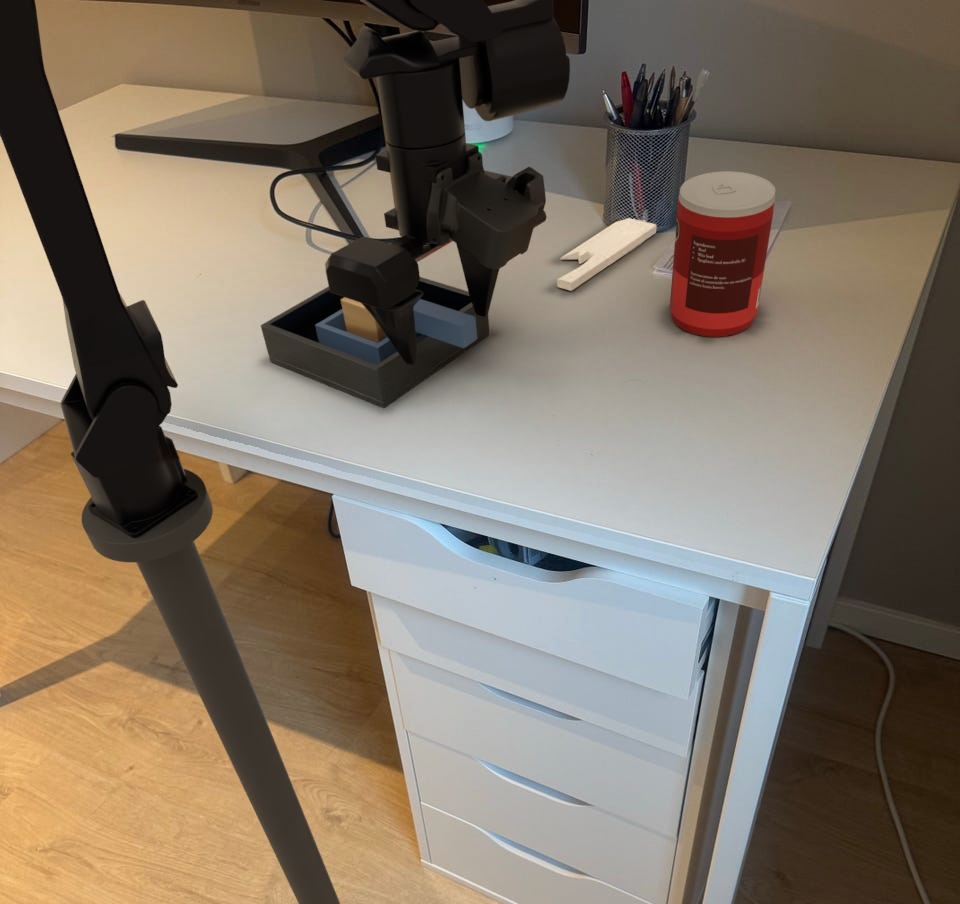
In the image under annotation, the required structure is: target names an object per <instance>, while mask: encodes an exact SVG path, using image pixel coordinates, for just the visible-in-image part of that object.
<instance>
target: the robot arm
mask: <svg viewBox="0 0 960 904" xmlns="http://www.w3.org/2000/svg"><path fill="white" fill-rule="evenodd" d="M359 1H360V2H361V3H363V4H364V5H366V6H367V7H369V8H370V9H372V10H374V11H376V12H378V13H380V14H382V15H384V16H385V17H387V18H389V19H391V20H393V21H395V22H397V23H398V24H400V25H402V26H404V27H406V28H408V29H410V30H413V31H409V32H404V33H403V32H402V33H398V34H393V35H389V36H385V37H382V36H380V34H379V33H378V32H377V31H375V30H374V29H372V28H370V27H368V26H367V25H364V26H361V28H360V30H359V34H358V37H357V39H356V40H355V42H354V43H353V45H352V46H350V48H349V50H348V51H347V52H346V54H345V55H344V56H343V58H342V64H343V66H344V68H346V69H347V70H349V71H350V72H352V73H353V74H354V75H356V76H357V77H359V78H360V79H362V80H369V79H374V78H376V83H377V91H378V98H379V99H378V100H379V105H380V112H381V113H380V114H381V119H382V127H383V135H384V142H385V149H384V150H383V151H380V152H378V153H377V154H374V157H375V164H376V169H377V170H378V171H381V172H385V173H389V177H390V184H391V192H392V200H393V208H391V209H389V210H388V211H386V212H384V213H383V217H384V224H385V228H389V229H392V230H396V231H398V234H399V236H400V237H399V238H397V239H395V240H394V241H392V242H391V243H389V242H385V241H381V240H379V239H375V238H371V237H367V236H364V235H363V236H361V237H359V238H357V239H355V240H354V241H352V242H350V243H348V244H347V245H346V244H345V245H344V246H343V247H341V248H339V249H338V250H335V251H333V252H332V253H330V255H329V256H328V258H327V260H326V261H325V262H324V265H325V266H324V267H325V274H326V279H327V284H328V286H329V290H330V293H333V294H336V295H339V296H342V297H345V298H348V299H351V300H354V301H357V302H360V303H362V304H363V306H364V307H365V308H366V309H367V310H368V311H369V313H370V314H371V315H372V316H373V317H374V319H375V320H376V321H377V323H378V324H379V325H380V327H381V328H382V330H383V331H384V333H385V334H386V335H387V337H388V338H389V340H390V341H391V343H392V344H393V346H394V347H395V349H396V350H397V351H398V353H399V354H400V356H401V357H402V359H403V360H404V361H405V362H406V363H408V364H411V365H414V364H416V363H417V341H416V330H415V320H414V306H415V304H416V303H417V302H418V301H419V299H420V298H421V297H422V296H423V293H424V292H422V291H419V290H416V287H417V285H418V282H419V280H420V277H421V275H420V268H419V262H421V261H422V260H423V259H425V258H427V257H429V256H431V255H432V254H434V253H436V252H437V251H440V250H441V249H442V248H444V247H445V246H447V245H449V244H451V243H453V242H454V243H455V244H456V248H457V251H458V256H459V259H460V265H461V268H462V272H463V276H464V279H465V284H466V287H467V291H468V292H469V296H470V299H471V302H472V305H473V308H474V311H475V313H476V314H477V315H479V316H482V317H485V316H487V315H488V316H489V312H490V307H491V303H492V301H493V297H494V293H495V288H496V284H497V282H498V281H497V280H498V277H499V272H500V269H501V268H503V267H505V266H506V265H507V263H509V262H510V261H511V260H513V259H515V258H516V257H517V256H520V255H524V254H525V253H526V252H527V251H528V250H529V247H530V243H531V239H532V236H533V232H534V229H535V228H537V227H538V226H540V225H542V224H543V223H545V222H546V220H547V213H546V211H545V206H546V202H547V196H546V190H545V189H546V188H545V180H544V175H543V174H542V173H540V172H539V171H538V170H536V169H534V168H532V167H531V166H527V167H526V168H524V169H522V170H520V171H518V172H517V173H515V174H514V175H506V174H502V173H498V172H494V171H489V170H485V168H484V162H483V161H484V159H483V154H482V153H481V152H480V148H479V145H478V144H472V143H468V142H467V138H466V126H465V113H464V105H465V106H466V107H467V108H468V109H471V110H472V109H474V110H475V111H476V113H477V115H478V116H479V117H480V118H481V120H483V121H484V122H492V121H496V120H500V119H504V118H509V117H512V116H516V115H520V114H525V113H528V112H532V111H536V110H541V109H545V108H549V107H552V106H553V107H554V106H557V105H559V104H560V103H562V102H563V100H564V99H565V97H566V95H567V92H568V88H569V84H570V75H571V74H570V73H571V61H570V57H569V55H568V54H567V49H566V45H565V41H564V37H563V34H562V31H561V28H560V26H559V24H558V23H557V21H556V19H555V18H554V0H512V1H508V2H507V1H506V2H503V3H497V4H492V5H487V4H486V2H485V1H484V0H359ZM437 27H440V28H442V29H444V30H445V31H448V32H450V33H452V34H454V35H455V36H453V37H448V38H444V39H439V40H438V39H437V40H432V41H431V40H430V39H429V37H428V36H427V35H426V34H425V33H424V32H428V31H429V32H430V31H433V30H435V29H436V28H437ZM0 138H1V141H2V144H3V146H4V149H5V151H6V154H7V157H8V159H9V162H10V165H11V167H12V170H13V172H14V175H15V178H16V181H17V183H18V186H19V189H20V191H21V194H22V196H23V199H24V201H25V204H26V206H27V209H28V212H29V214H30V217H31V219H32V223H33V225H34V227H35V230H36V232H37V235H38V238H39V241H40V243H41V246H42V248H43V251H44V253H45V256H46V258H47V259H46V260H47V261H48V264H49V267H50V269H51V272H52V274H53V277H54V280H55V282H56V284H57V287H58V290H59V293H60V295H61V299H62V305H63V311H64V319H65V325H66V331H67V337H68V342H69V349H70V352H71V358H72V363H73V368H74V371H75V374H74V376H73V378H72V380H71V382H70V384H69V385H68V388H67V389H66V392H65V393H64V395H63V397H62V399H61V401H60V408H61V411H62V415H63V419H64V422H65V426H66V429H67V433H68V436H69V439H70V443H71V444H70V445H71V447H72V451H71V453H70V456H71V458H72V460H73V462H74V465H75V467H76V468H77V470H78V472H79V474H80V476H81V479H82V481H83V483H84V484H85V486H86V488H87V491H88V492H89V495H90V498H91V497H92V499H93V501H94V502H92V503H90V504H89V505H88V509H89V511H90V512H91V513H92V514H94V515H96V516H97V517H99V518H100V519H102V520H104V521H105V522H107V523H109V524H110V525H112V526H114V527H115V528H117V529H118V530H120V531H122V532H123V533H125V534H127V535H128V536H130V537H132V538H138V537H140V536H142V535H143V534H145V533H146V532H148V531H149V530H151V529H152V528H154V527H155V526H157V525H158V524H160V523H161V522H163V521H164V520H166V519H167V518H169V517H170V516H172V515H173V514H175V513H176V512H178V511H179V510H181V509H182V508H184V507H185V506H187V505H188V504H190V503H191V502H193V501H194V500H195V499H197V498H198V494H197V491H196V490H194V489H193V488H191V487H189V486H187V485H185V484H183V483H185V482H186V481H187V477H186V474H185V472H184V469H185V468H184V467H183V464H182V462H181V458H180V456H179V454H178V451H177V449H176V445H175V444H174V441H173V439H172V438H170V437H168V436H166V435H165V433H164V430H163V428H162V426H161V424H163V422H164V421H165V419H166V418H167V416H168V415H169V414H170V413H171V411H172V405H173V404H172V403H173V402H172V396H171V392H170V389H169V387H170V388H173V389H177V388H178V387H179V384H178V382H177V379H176V377H175V375H174V374H173V371H172V369H171V367H170V365H169V363H168V361H167V358H166V356H165V350H164V343H163V342H164V341H163V338H162V333H161V331H160V329H159V327H158V325H157V323H156V320H155V318H154V317H153V314H152V312H151V310H150V308H149V306H148V304H147V302H146V300H144V299H141V300H139V301H136V302H134V303H132V304H130V305H127V303H126V302H125V300H124V298H123V296H122V295H121V293H120V291H119V289H118V285H117V282H116V279H115V276H114V274H113V271H112V267H111V265H110V262H109V258H108V256H107V252H106V250H105V247H104V245H103V240H102V238H101V235H100V232H99V229H98V226H97V223H96V220H95V217H94V214H93V211H92V208H91V205H90V201H89V199H88V196H87V192H86V190H85V187H84V185H83V184H84V183H83V181H82V178H81V175H80V173H79V172H80V171H79V169H78V167H77V163H76V160H75V157H74V155H73V152H72V148H71V145H70V142H69V140H68V136H67V133H66V130H65V127H64V125H63V121H62V118H61V114H60V112H59V109H58V107H57V104H56V100H55V98H54V95H53V92H52V89H51V86H50V83H49V80H48V77H47V74H46V70H45V65H44V58H43V51H42V43H41V35H40V29H39V20H38V12H37V5H36V0H0Z"/></svg>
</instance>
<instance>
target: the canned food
mask: <svg viewBox="0 0 960 904" xmlns="http://www.w3.org/2000/svg"><path fill="white" fill-rule="evenodd" d="M677 201H678V202H677V210H676V219H675V220H676V221H675V235H674V246H673V248H674V249H673V261H672V262H673V263H672V272H671V274H672V275H671V286H670V289H671V290H670V300H669V302H670V303H669V309H670V314H671V318H672V320H673V322H674V323H675V324H676V326H677V327H679V328H680V329H682V330H683V331H685V332H687V333H689V334H693V335H696V336H701V337H710V338H721V337H728V336H733V335H736V334H739V333H742V332H743V331H745V330H746V329H748V328H749V327H751V325H752V324H753V322H754V320H755V319H756V316H757V314H758V310H759V305H760V304H759V303H760V298H761V291H762V287H763V286H762V285H763V279H764V273H765V267H766V262H767V254H768V249H769V243H770V236H771V229H772V223H773V217H774V211H775V209H774V208H775V202H776V187H775V185H774V184H773V183H772V182H770V181H769V180H768V179H766V178H763V177H761V176H759V175H756V174H754V173H753V174H752V173H748V172H742V171H712V172H707V173H702V174H699V175H696V176H693V177H690V178H689V179H687V180H686V181H684V182H683V183H682V185H680V188H679V194H678V199H677Z"/></svg>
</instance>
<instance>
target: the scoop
mask: <svg viewBox="0 0 960 904" xmlns="http://www.w3.org/2000/svg"><path fill="white" fill-rule="evenodd" d="M414 320H415V330H416V339H417V338H418V337H420V336H421V335H426V336H429V337H432V338H435V339H438V340H441V341H444V342H446V343H449V344H452V345H455V346H458V347H461V348H465V347H467V346H468V345H470V344H471V343H472V342H474V341H475V340H477V329H476V317H475V316H472V315H468V314H465V313H462V312H459V311H456V310H453V309H450V308H447V307H443V306H440V305H437V304H434V303H431V302H428V301H425V300H421V299H419V301H418V302H417V303H416V304H415V306H414ZM315 327H316V331H317V336H318V340H319V343H320V344H323V345H326V346H328V347H331V348H334V349H336V350H339V351H342V352H344V353H347V354H349V355H352V356H355V357H357V358H360V359H363V360H365V361H368V362H371V363H373V364H376V365H377V364H379V363H380V362H382V361H383V360H385V359H386V358H388V357H390V356H391V355H393V354H394V353H396V352H397V350H396V349H395V347H394V346H393V344H392V343H391V341H390V340H389V338H388V337H387V338H385V339H384V340H382V341H381V342H379V343H376V342H373V341H371V340H368V339H365V338H362V337H359V336H357V335H354V334H351V333H348V332H347V329H346V324H345V319H344V314H343V309H341V310H339V311H338V312H336V313H334V314H333V315H331V316H329V317H328V318H326V319H324V320H323V321H321V322H319V323H317V324H316V325H315Z"/></svg>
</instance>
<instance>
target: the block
mask: <svg viewBox="0 0 960 904" xmlns="http://www.w3.org/2000/svg"><path fill="white" fill-rule="evenodd" d="M341 304H342V309H343V314H344V319H345V324H346V329H347V332H348V333H351V334H354V335H357V336H359V337H362V338H365V339H368V340H371V341H373V342H376V343H379V342H381V341H382V340H384V339H385V338H387V335H386V334H385V333H384V331H383V330H382V328H381V327H380V325H379V324H378V323H377V321H376V320H375V319H374V317H373V316H372V315H371V314H370V313H369V311H368V310H367V309H366V308H365V307H364V306H363V304H362V303H360V302H357V301H354V300H351V299H348V298H345V297H344V298H343V299H341Z"/></svg>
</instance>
